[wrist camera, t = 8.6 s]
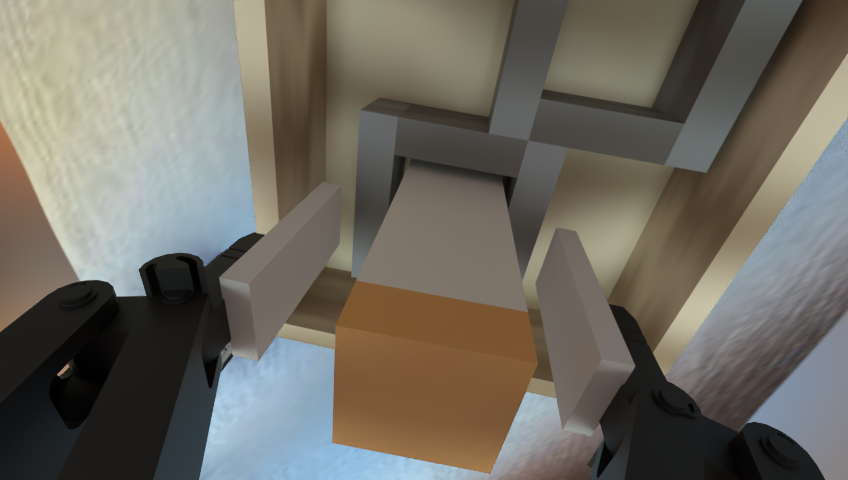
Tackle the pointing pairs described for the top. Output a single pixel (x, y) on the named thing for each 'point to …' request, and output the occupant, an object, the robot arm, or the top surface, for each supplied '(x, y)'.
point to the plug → (436, 326)
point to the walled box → (549, 132)
